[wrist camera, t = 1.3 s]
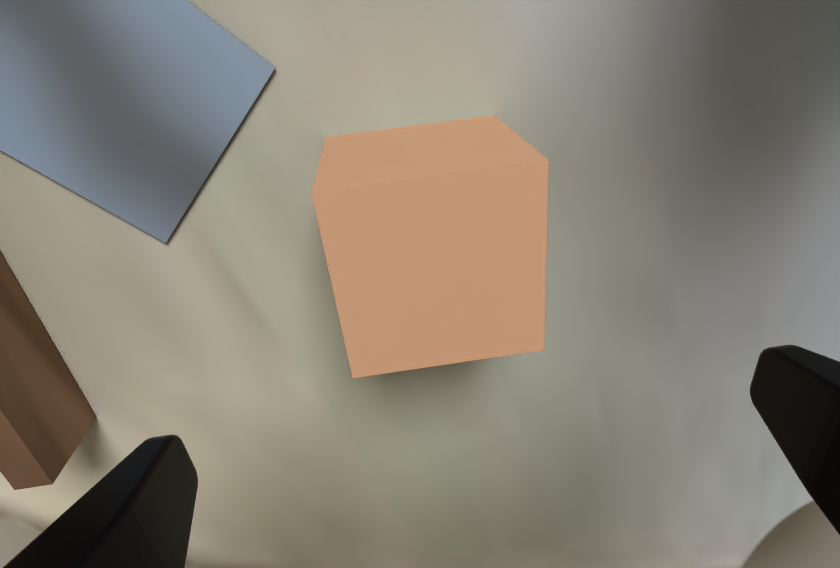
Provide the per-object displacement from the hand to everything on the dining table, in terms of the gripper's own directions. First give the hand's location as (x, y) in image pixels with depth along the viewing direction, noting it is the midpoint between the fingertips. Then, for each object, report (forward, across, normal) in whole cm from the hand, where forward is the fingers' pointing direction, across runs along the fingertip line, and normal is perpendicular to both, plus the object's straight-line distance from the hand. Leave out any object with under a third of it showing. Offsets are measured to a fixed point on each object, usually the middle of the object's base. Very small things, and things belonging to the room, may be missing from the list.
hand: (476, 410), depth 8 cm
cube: (+9, 0, 0) cm, 9 cm away
